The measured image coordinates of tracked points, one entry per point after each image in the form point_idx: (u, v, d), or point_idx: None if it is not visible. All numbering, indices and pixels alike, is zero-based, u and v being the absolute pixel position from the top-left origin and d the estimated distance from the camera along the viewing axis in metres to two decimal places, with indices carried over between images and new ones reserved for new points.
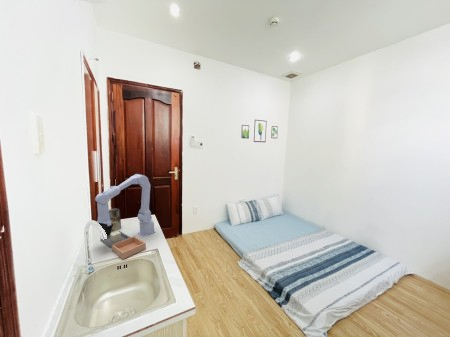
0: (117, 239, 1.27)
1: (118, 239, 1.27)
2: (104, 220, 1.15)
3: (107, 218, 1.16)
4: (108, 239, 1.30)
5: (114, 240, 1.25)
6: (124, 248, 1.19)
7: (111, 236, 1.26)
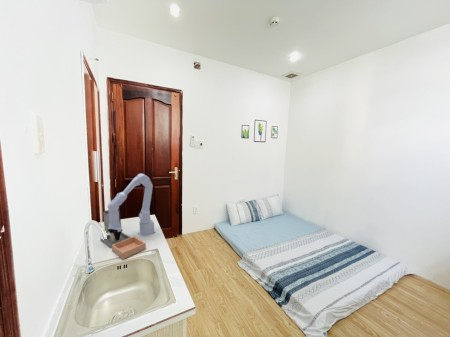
0: None
1: None
2: (115, 226, 1.25)
3: (117, 224, 1.26)
4: (108, 239, 1.30)
5: (114, 240, 1.25)
6: (124, 248, 1.19)
7: (111, 236, 1.26)
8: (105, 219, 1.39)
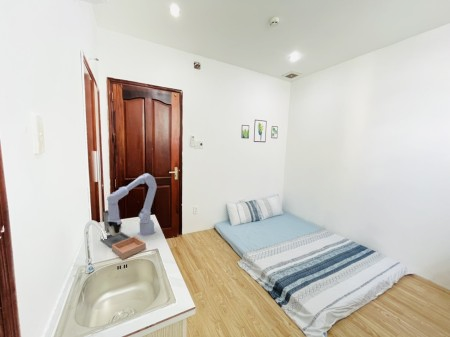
0: None
1: None
2: (114, 219, 1.24)
3: (117, 217, 1.25)
4: (108, 239, 1.30)
5: (113, 233, 1.25)
6: (124, 248, 1.19)
7: (110, 229, 1.25)
8: (105, 219, 1.39)
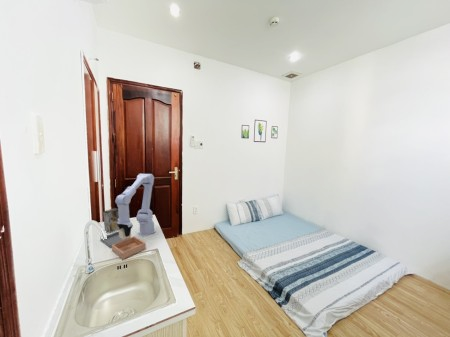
0: None
1: None
2: (125, 221, 1.15)
3: (127, 219, 1.16)
4: (108, 239, 1.30)
5: (123, 236, 1.16)
6: (124, 248, 1.19)
7: (120, 232, 1.16)
8: (105, 219, 1.39)
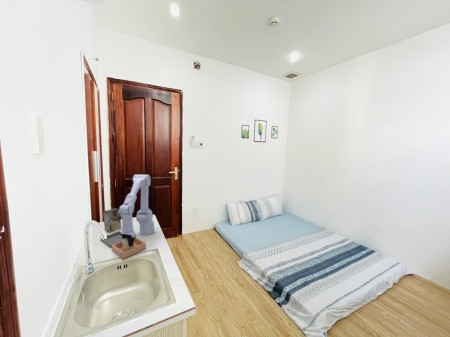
0: None
1: None
2: (128, 231, 1.14)
3: (131, 229, 1.15)
4: (108, 239, 1.30)
5: (127, 247, 1.14)
6: (124, 248, 1.19)
7: (124, 242, 1.15)
8: (105, 219, 1.39)
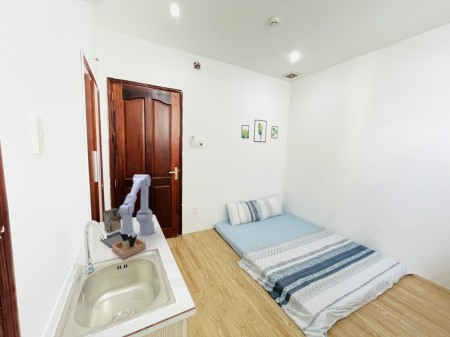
0: (130, 248, 1.16)
1: None
2: (128, 231, 1.14)
3: (131, 229, 1.15)
4: (108, 239, 1.30)
5: (127, 249, 1.15)
6: None
7: (124, 245, 1.15)
8: (105, 219, 1.39)
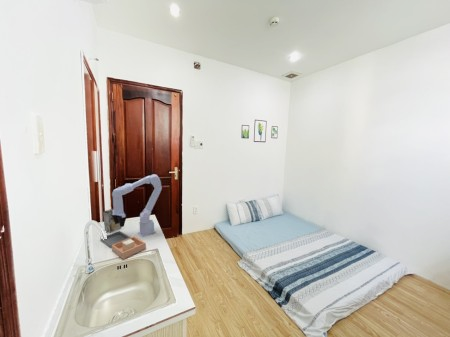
0: (130, 248, 1.16)
1: None
2: (119, 212, 1.28)
3: (121, 211, 1.29)
4: (108, 239, 1.30)
5: (127, 249, 1.15)
6: None
7: (124, 245, 1.15)
8: (105, 219, 1.39)
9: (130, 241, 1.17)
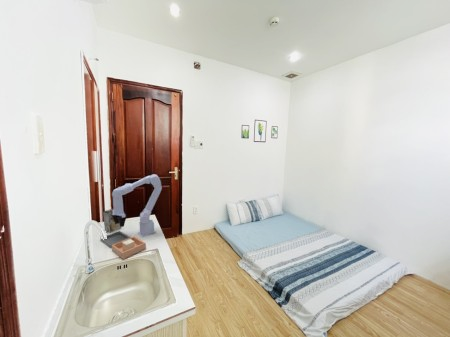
0: (130, 248, 1.16)
1: None
2: (119, 212, 1.28)
3: (121, 211, 1.29)
4: (108, 239, 1.30)
5: (127, 249, 1.15)
6: None
7: (124, 245, 1.15)
8: (105, 219, 1.39)
9: (130, 241, 1.17)
